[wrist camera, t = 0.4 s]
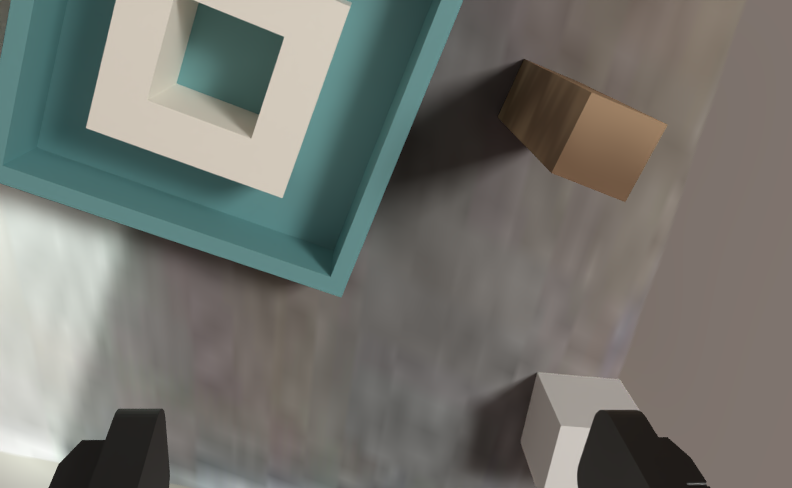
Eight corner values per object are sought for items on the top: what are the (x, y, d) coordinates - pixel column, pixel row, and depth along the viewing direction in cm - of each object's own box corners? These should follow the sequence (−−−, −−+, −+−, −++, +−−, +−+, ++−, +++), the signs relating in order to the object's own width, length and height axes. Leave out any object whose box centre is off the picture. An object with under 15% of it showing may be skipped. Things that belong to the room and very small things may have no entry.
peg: (524, 59, 38) (591, 92, 27) (579, 82, 38) (667, 124, 27) (497, 117, 39) (551, 172, 28) (551, 139, 40) (625, 201, 28)
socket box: (96, -223, 32) (40, -266, 26) (472, -53, 35) (492, -59, 30) (20, 154, 38) (-38, 184, 33) (343, 265, 42) (340, 309, 36)
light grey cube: (619, 378, 46) (654, 432, 41) (598, 446, 49) (630, 507, 43) (536, 371, 46) (561, 426, 40) (519, 441, 48) (540, 502, 42)
